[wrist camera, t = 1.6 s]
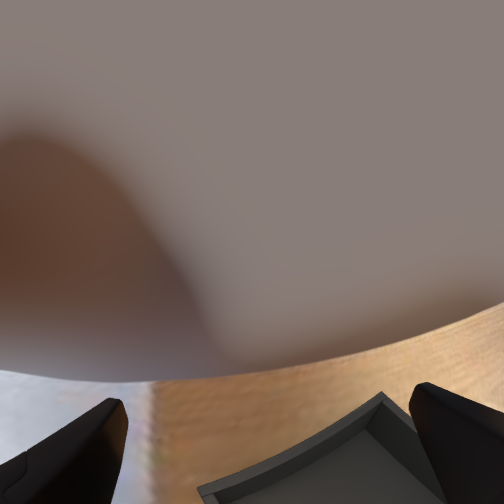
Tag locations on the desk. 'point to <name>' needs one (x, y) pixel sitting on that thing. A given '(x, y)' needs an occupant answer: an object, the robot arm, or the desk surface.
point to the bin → (341, 466)
